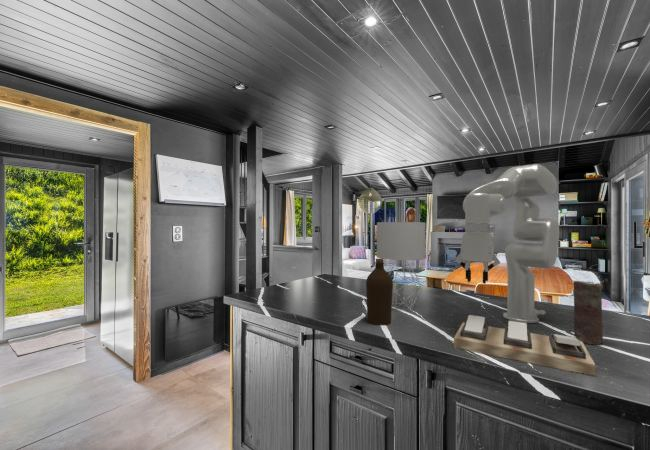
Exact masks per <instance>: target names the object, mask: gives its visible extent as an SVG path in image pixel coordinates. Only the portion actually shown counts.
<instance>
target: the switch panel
mask: <svg viewBox="0 0 650 450" xmlns="http://www.w3.org/2000/svg"><path fill="white" fill-rule="evenodd" d="M466 323H467V320H466V321H465V322H464V321H463V322H462V323H461V325H460V327H459V329H458V331H456V334H455V335H454V337H453V348H455V349H460V350H465V351H470V352H475V353H480V354H483V355H490V356H495V357H500V358H505V359H509V360H512V361H513V360H514V361H517V362H518V361H519V362H523V363H528V364H533V365H539V366H543V367H548V368H553V369H558V370H562V371H568V372H572V371H573V372H572V373H577V372H578V374H582V373H584V374H583V375H587V374H589V375H588V376H592V375H594V376H593V377H596V363H595V362H594V360H593V357H592V356H591V355H590V353H589V351H588V350H587V348H586V346H585V343H583V342H582V341H580V340H579V341H580V346H576V345H570V344H564V343H558V342H556V341H555V340H554V339H553V334H554V333H553V334H552V333H548V335H543V334H539V333H533V332H531V330H528V329H527V340H528V343H526V342H520V341H515V340H509V339H508V327H507V326H505V327H504V328H501V327H495V326H489V324H488V323H484V328H483V333H482V335H481V334H475V333H469V332H464V330H465V326H466ZM575 338H576V337H575ZM576 339H578V338H576Z"/></svg>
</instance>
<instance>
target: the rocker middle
mask: <svg viewBox="0 0 650 450" xmlns="http://www.w3.org/2000/svg"><path fill="white" fill-rule="evenodd" d="M507 323H508V325H507V326H508V339H509V340H515V341H520V342H526V343H528V340H527V330H528V323H522V322H516V321H512V320H508V322H507Z"/></svg>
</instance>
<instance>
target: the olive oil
mask: <svg viewBox="0 0 650 450" xmlns="http://www.w3.org/2000/svg"><path fill="white" fill-rule="evenodd" d="M384 260H385V259H381V258H375V263H374V265H375V267H374V269H372V271H371V272H370V274H368V276H367V278H366V281H365V282H366V283H365V287H366V288H365V290H366V291H365V292H366V319H367V323H369V324H371V325H376V326H377V325H378V326H379V325H380V326H384V325H385V326H386V325H389V324H391V322H392V309H393V304H392V303H393V302H392V301H393V293H394V285H393V284H394V281H393V278H392V276H391V274H390V273H389V272H388V271H387V270H385V264H384V262H385V261H384ZM386 271H387V272H386ZM389 274H390V275H389Z"/></svg>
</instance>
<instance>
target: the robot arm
mask: <svg viewBox="0 0 650 450" xmlns="http://www.w3.org/2000/svg"><path fill="white" fill-rule="evenodd" d="M557 189H558V182H557V179H556V177H555V175H554V174H553V173H552V172H551V171H549V169H548V168H547V167H545V166H544V165H542V164H539V163H533V164H526V165H518V166H513V167H510V168H508V169H506V171H504V172H503V174H501V175H500V176H499V177H498V178H497V179H496V180H493V181H490V182H488V183H486V184H484V185H481V186H479V187H476V188H475V189H473V190H471V192H469V193H468V194H466V195H465V197H464V200H462V201H463V202H462V209H463V212H464V214H465V216H464V217H465V218H464V219H465V220H464V221H465V224H464V231H465V232H463V233H462V237H461V243H460V252H459V254H458V255H457V256H456V258H455V259H454V262H456V263H458V264H459V265H460V266H461V267H462V268H463V269H464V270H465V279H466V280H467V282H468V283H470V282H471V280H472V269H471V263H472V262H473V263H482V265H483V268H484V269H483V271H482V284H486V283H487V282H488V281H489V272H490V270H491V269H493V268H494V267H496V266H499V265H500V264H501V261H500V259H499V258H498V257H497V255H496V254H495V247H494V238H493V237H494V236H493V233H490V232H491V231H495V226H494V225H491V224H490V220H491V219H490V217H491V216H498V215H501V214H503V213H504V212H505V211H506V210H507V208H508V201H507V200H508V199H511V198H512V200H513V203H514V206H515V215H514V221H513V227H512V228H513V229H512V236H513V238H514V239H515V240H517V241H520V242H513V243H510V244H508V245H506V247H505V250H504V256H505V261H506V262H505V263H506V267H507V268H506V270H507V294H506V296H507V300H506V301H507V302H506V303H507V304H506V306H507V309H506V312H503V313H502V316H503V318H504V319H506V320H508V321H514V322H521V323H527V324H537V323H539V321H540V319H539V317H538V316H544V315H546V310H545V309H539V310H538V309H537V308H535V287H536V286H535V283H536V281H535V280H536V279H535V276H534V274H533V272H532V271H531V269H530V268H539V269H551V268H553V267H554V266H555V264H556V261H557V255H558V248H559V241H560V240H559V238H560V226H559V224H558V222H557V221H556V220H555V219H553V218H545V217H544V218H540V211H541V209H540V206H539V204H537V202H536V201H534V199H532V198H531V197H541V196H543V197H546V196H551V195H553V194H554V193H555V192H556V191H557ZM521 241H522V242H521ZM529 242H530V243H529ZM532 242H539V243H532ZM540 242H541V243H540ZM489 263H490V264H489Z"/></svg>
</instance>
